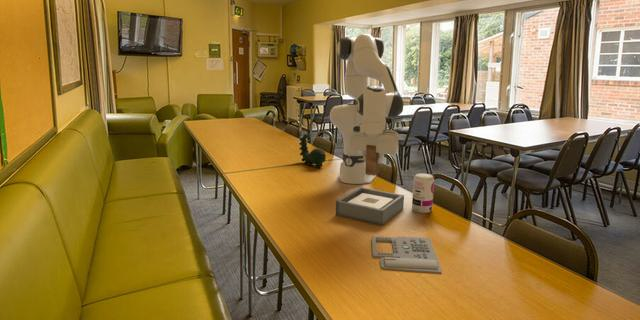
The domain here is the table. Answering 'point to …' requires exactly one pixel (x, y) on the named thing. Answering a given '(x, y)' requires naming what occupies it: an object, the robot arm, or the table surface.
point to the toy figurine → (311, 153)
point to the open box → (370, 206)
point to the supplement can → (423, 193)
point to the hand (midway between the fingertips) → (372, 162)
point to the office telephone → (408, 254)
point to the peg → (371, 160)
